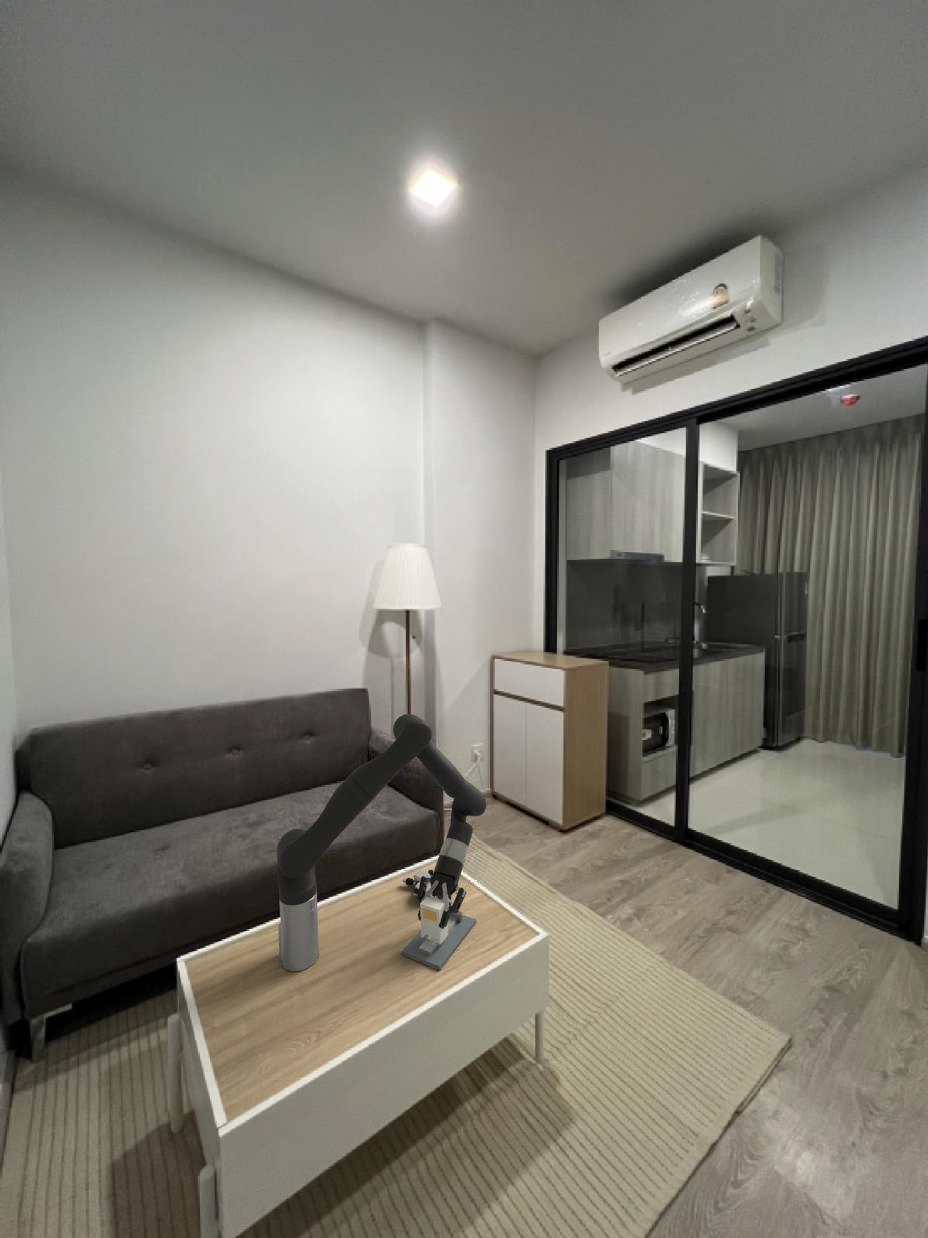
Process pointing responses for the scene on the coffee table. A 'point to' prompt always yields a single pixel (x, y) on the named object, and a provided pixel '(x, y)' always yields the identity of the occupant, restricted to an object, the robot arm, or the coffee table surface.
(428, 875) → the robot toy
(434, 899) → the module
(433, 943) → the rail
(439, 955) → the rail board
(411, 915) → the coffee table surface
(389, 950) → the coffee table surface
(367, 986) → the coffee table surface
